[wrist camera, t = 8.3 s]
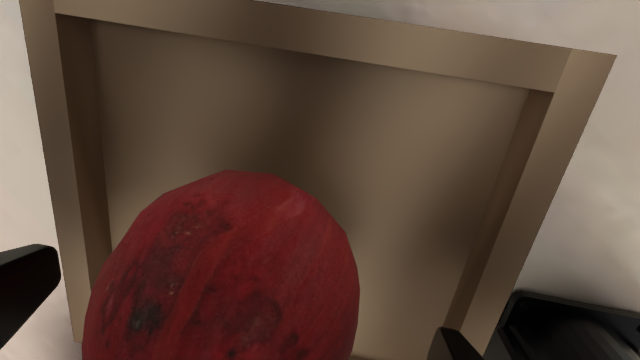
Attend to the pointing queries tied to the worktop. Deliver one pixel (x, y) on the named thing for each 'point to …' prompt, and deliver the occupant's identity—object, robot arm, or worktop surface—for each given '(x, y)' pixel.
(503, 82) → the shelf
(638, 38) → the worktop surface
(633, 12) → the worktop surface
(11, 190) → the worktop surface
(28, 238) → the worktop surface
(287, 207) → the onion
